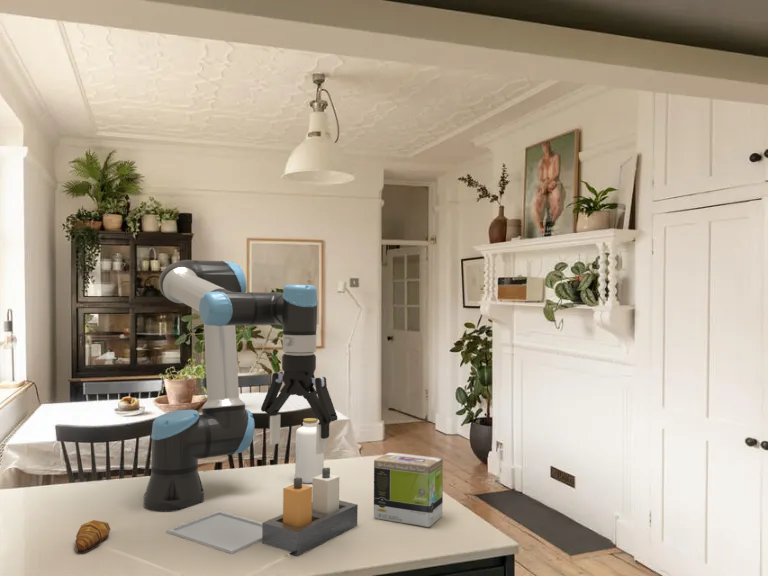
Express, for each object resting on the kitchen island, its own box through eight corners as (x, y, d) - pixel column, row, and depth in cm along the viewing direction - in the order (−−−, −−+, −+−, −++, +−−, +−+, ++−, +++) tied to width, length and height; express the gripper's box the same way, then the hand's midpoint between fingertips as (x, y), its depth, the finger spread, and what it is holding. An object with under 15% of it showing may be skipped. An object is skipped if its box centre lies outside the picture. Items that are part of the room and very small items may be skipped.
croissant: (89, 531, 148) (90, 509, 148) (119, 531, 148) (120, 509, 148) (63, 555, 135) (63, 531, 135) (96, 555, 135) (96, 531, 135)
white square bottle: (311, 520, 151) (312, 469, 151) (323, 515, 155) (324, 465, 155) (327, 524, 149) (327, 472, 149) (338, 518, 152) (339, 468, 152)
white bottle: (318, 485, 185) (319, 422, 186) (291, 483, 187) (292, 421, 187) (326, 477, 194) (327, 417, 194) (300, 475, 195) (301, 416, 195)
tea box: (443, 516, 162) (444, 457, 162) (429, 529, 152) (429, 466, 153) (388, 506, 168) (389, 450, 168) (372, 518, 159) (373, 458, 159)
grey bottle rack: (262, 545, 141) (262, 522, 141) (324, 517, 159) (324, 496, 159) (296, 556, 135) (297, 532, 136) (357, 525, 154) (357, 504, 154)
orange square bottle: (282, 533, 143) (283, 479, 143) (296, 527, 146) (296, 474, 146) (298, 538, 140) (299, 482, 140) (311, 531, 144) (312, 478, 144)
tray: (166, 535, 146) (166, 529, 146) (219, 515, 160) (219, 510, 160) (231, 556, 135) (231, 551, 135) (283, 533, 148) (283, 528, 148)
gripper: (246, 350, 148) (245, 443, 148) (333, 358, 134) (331, 460, 134) (269, 348, 154) (267, 437, 154) (354, 356, 140) (352, 453, 140)
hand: (297, 448), depth 144 cm, fingers open, 13 cm apart
